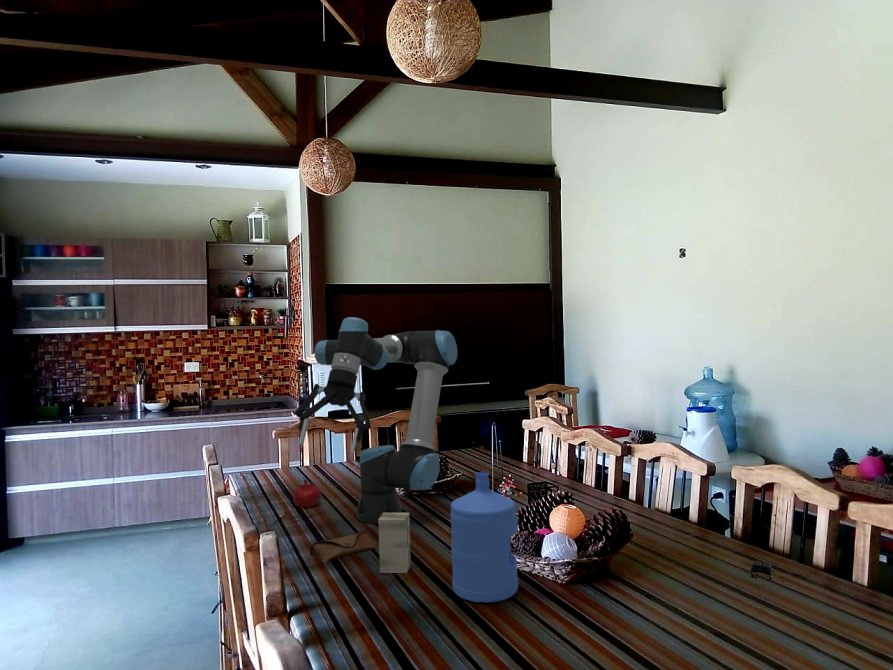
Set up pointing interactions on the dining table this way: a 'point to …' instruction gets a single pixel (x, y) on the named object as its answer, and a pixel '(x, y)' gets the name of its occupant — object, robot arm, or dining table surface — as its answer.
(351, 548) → the sunglasses case
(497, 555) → the water jug
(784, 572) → the dining table surface
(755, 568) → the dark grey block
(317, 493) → the pomegranate
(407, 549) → the cream and teal box
